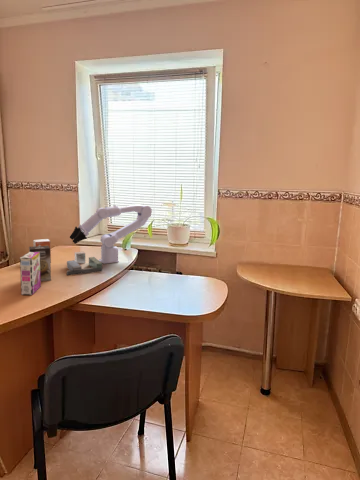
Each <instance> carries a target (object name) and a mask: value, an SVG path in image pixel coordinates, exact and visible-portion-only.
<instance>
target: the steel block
mask: <svg viewBox="0 0 360 480" xmlns="http://www.w3.org/2000/svg"><path fill="white" fill-rule="evenodd" d="M74 260H75V261H76V262H77V263H78V264H79V265H81V264H86V252H85V251H74Z"/></svg>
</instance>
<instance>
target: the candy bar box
mask: <svg viewBox="0 0 360 480" xmlns="http://www.w3.org/2000/svg"><path fill="white" fill-rule="evenodd" d="M19 270H20V292H21V294H20V295H21V296H33V295H34V294H35V293H37V291H38V290H39V289H40V288H41V287H42V285H41V284H42V283H41V282H42V281H41V279H40V252H29V251H28V252H27V253H25V254H24V255H22V256H20V257H19Z"/></svg>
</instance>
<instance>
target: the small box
mask: <svg viewBox="0 0 360 480" xmlns="http://www.w3.org/2000/svg"><path fill="white" fill-rule="evenodd" d="M32 244H33V246H32V247H34V246H49V247H50V262H51V263H52V253H51V252H52V249H51V248H52V246H51V240H50V239H49V238H44V239H33V240H32Z"/></svg>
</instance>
